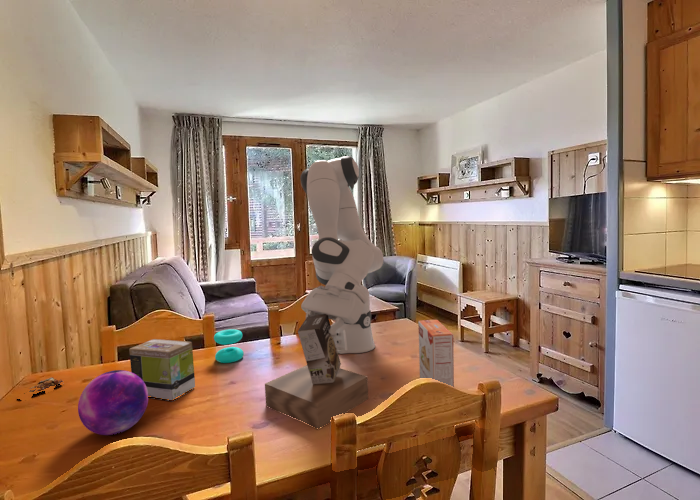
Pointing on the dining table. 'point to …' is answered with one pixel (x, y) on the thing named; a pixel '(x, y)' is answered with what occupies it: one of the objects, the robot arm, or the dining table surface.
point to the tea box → (164, 367)
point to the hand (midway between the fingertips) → (317, 330)
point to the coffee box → (319, 349)
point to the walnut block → (315, 395)
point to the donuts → (230, 352)
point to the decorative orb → (113, 402)
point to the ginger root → (46, 384)
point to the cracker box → (436, 352)
